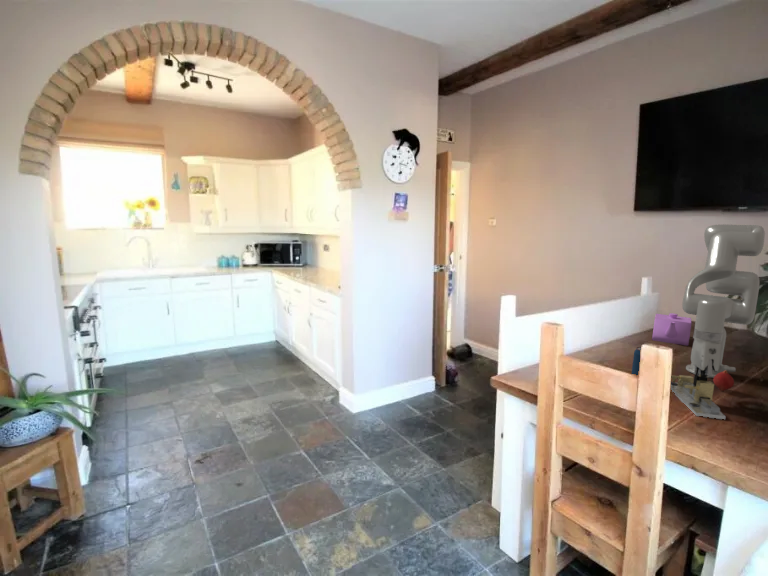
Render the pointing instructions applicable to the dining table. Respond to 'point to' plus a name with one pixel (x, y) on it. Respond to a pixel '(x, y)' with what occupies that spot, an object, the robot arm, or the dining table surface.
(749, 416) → the dining table surface
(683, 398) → the board
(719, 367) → the robot arm
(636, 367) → the soda can
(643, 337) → the dining table surface
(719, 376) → the onion
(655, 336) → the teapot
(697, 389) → the sliding jaw
